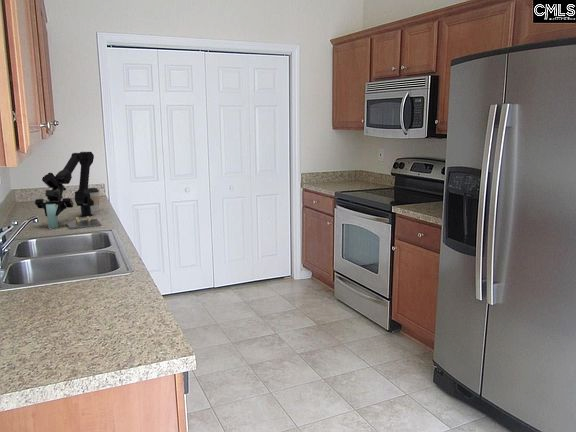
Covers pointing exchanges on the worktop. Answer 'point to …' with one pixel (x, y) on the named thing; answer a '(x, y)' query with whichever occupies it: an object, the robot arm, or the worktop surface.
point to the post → (52, 215)
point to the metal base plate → (83, 223)
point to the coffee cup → (94, 198)
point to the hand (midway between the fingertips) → (51, 215)
